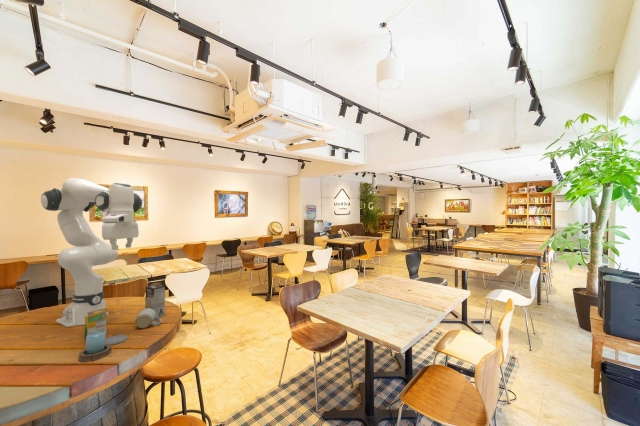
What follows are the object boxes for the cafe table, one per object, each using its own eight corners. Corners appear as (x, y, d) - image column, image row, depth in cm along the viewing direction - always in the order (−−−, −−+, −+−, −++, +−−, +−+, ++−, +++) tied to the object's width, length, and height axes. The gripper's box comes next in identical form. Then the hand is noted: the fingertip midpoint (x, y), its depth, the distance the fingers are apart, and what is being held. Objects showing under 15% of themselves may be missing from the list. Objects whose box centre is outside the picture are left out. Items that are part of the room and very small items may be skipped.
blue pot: (105, 355, 102) (105, 334, 102) (85, 360, 98) (86, 338, 98) (104, 346, 109) (104, 327, 109) (85, 351, 105) (86, 330, 105)
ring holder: (73, 359, 99) (73, 353, 99) (100, 347, 108) (100, 342, 108) (89, 363, 96) (89, 357, 96) (116, 351, 105) (116, 346, 105)
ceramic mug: (134, 330, 125) (134, 314, 125) (138, 324, 133) (139, 308, 133) (159, 327, 129) (160, 311, 129) (162, 321, 137) (163, 306, 137)
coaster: (96, 343, 112) (96, 342, 112) (118, 335, 120) (118, 333, 120) (110, 347, 109) (110, 345, 109) (132, 337, 117) (132, 336, 117)
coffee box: (144, 316, 144) (144, 286, 145) (156, 312, 150) (157, 284, 150) (152, 319, 139) (153, 288, 140) (165, 315, 145) (165, 286, 145)
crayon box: (103, 331, 124) (104, 306, 124) (106, 333, 122) (107, 307, 123) (84, 337, 117) (84, 311, 118) (87, 339, 116) (87, 312, 116)
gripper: (129, 218, 131) (128, 246, 131) (98, 218, 111) (98, 251, 110) (142, 218, 132) (142, 246, 131) (114, 217, 111) (114, 250, 111)
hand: (121, 248), depth 121 cm, fingers open, 8 cm apart
